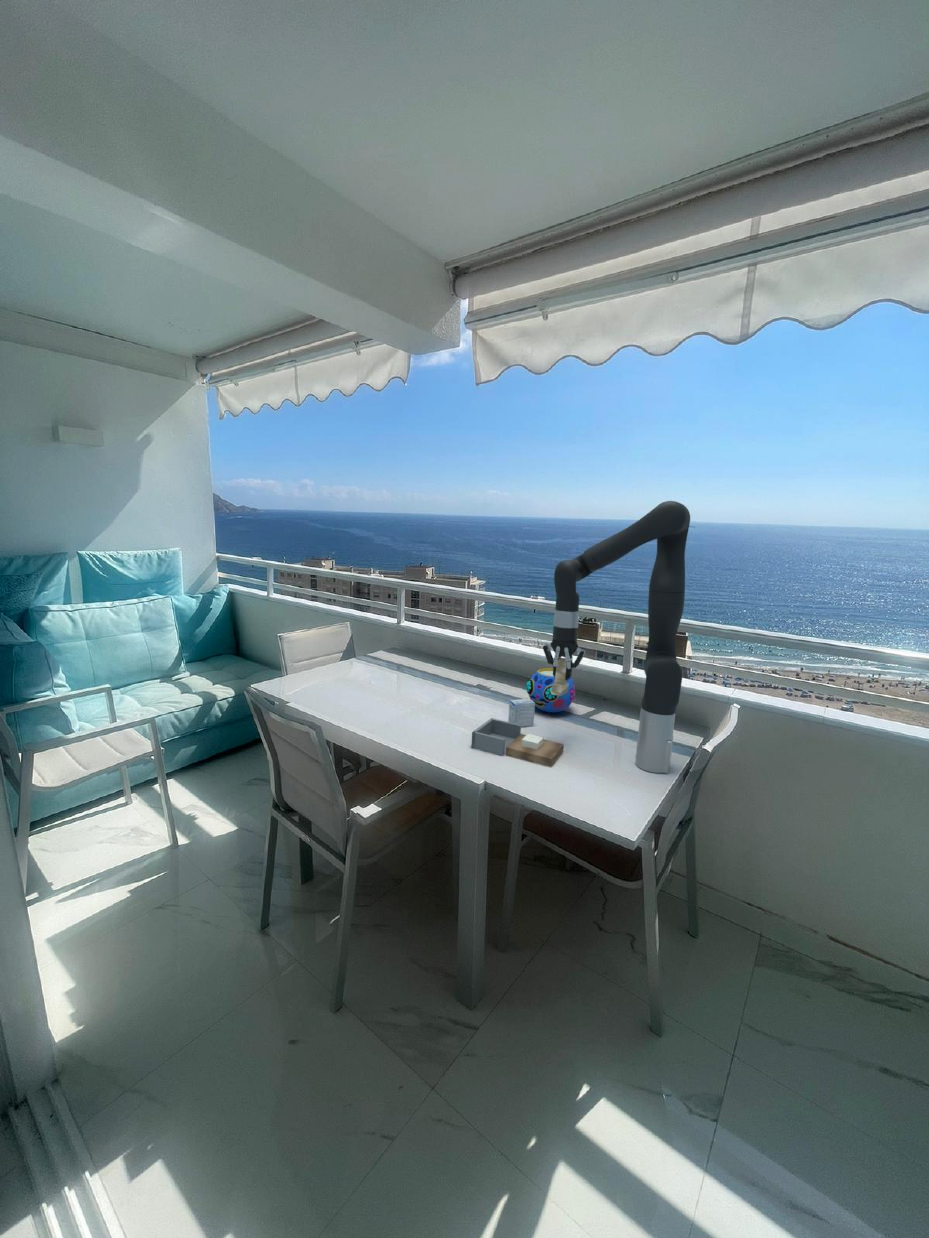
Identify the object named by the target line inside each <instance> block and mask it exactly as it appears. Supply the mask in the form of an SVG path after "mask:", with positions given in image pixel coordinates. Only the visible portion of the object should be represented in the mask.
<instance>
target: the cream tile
mask: <svg viewBox="0 0 929 1238" xmlns="http://www.w3.org/2000/svg"><path fill="white" fill-rule="evenodd" d="M525 735H526V736H525V737H524V738H523V739H522V746H524V747H528V748H532V749H536V750H538V749H539V748H540V746H541V745H542V744H543V739H544V737H542V736H538V735H533V734H529V733H527V734H525Z"/></svg>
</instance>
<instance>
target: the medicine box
mask: <svg viewBox="0 0 929 1238" xmlns="http://www.w3.org/2000/svg"><path fill="white" fill-rule="evenodd" d="M508 704H509V705H508V718H507V719H508V721H507V722H510V723H515V724H519V725H521V728H526V727H531V726H532V727H533V726H534V725H535V723H534V722H535V711H536V707H535V702H533V701H532V700H530V698H522V699H510V700H509V703H508Z"/></svg>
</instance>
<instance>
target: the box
mask: <svg viewBox="0 0 929 1238" xmlns="http://www.w3.org/2000/svg"><path fill="white" fill-rule="evenodd" d="M521 731H522V727H521V725H519V724H515V723H510V722H508V721H505V720H501V719H497V718H493V717H490V718H489V719H488V720H487V721H486V722H484V723H482V724H481V725H480V726H479V727H477V728H475V730H473V731H472V732H471V749H476V750H478V749H479V750H478V751H481V752H482V751H483V752H487V753H491V754H494V755H498V756H502V757H504V756H505V755H506V747H507V746H508V745H509V744H510V743H511V742H513V741H514V740H515V739H516V738H517V737H518V736H519V735H520V734H522V733H521Z"/></svg>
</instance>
